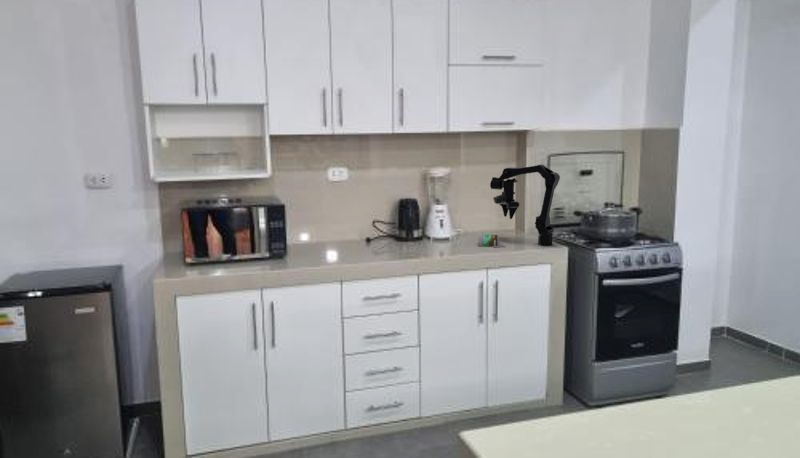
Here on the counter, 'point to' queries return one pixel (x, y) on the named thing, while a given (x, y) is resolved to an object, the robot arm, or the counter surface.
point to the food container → (487, 240)
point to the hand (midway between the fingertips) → (508, 217)
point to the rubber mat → (499, 245)
